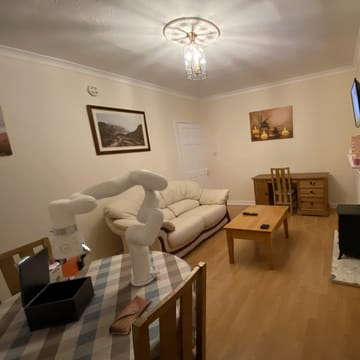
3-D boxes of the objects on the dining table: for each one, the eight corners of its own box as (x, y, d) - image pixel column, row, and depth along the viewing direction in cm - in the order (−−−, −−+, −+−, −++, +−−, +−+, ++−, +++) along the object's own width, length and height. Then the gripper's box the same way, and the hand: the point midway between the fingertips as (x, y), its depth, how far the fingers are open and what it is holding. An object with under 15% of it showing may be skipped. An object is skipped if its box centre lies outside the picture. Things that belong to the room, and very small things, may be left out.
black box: (94, 294, 106) (90, 275, 104) (78, 320, 90) (73, 298, 89) (54, 302, 102) (49, 283, 100) (29, 331, 86) (23, 308, 84)
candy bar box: (65, 287, 113) (59, 260, 110) (72, 288, 112) (66, 260, 109) (42, 303, 103) (34, 273, 100) (50, 304, 101) (43, 273, 99)
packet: (84, 265, 92) (82, 254, 91) (76, 275, 85) (73, 264, 84) (73, 267, 91) (71, 256, 90) (63, 278, 84) (60, 266, 83)
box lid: (47, 246, 98) (32, 247, 96) (20, 265, 82) (2, 266, 80) (50, 282, 100) (35, 283, 99) (24, 307, 84) (6, 309, 83)
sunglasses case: (128, 334, 82) (118, 321, 81) (116, 341, 83) (105, 328, 83) (152, 300, 99) (144, 289, 99) (142, 306, 101) (133, 295, 100)
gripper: (34, 237, 79) (45, 280, 82) (85, 229, 83) (93, 271, 86) (46, 229, 86) (56, 269, 89) (93, 223, 90) (100, 261, 94)
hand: (74, 269), depth 88 cm, fingers closed on packet, 4 cm apart
